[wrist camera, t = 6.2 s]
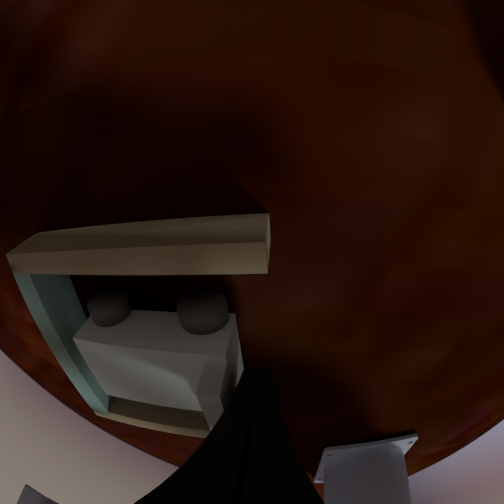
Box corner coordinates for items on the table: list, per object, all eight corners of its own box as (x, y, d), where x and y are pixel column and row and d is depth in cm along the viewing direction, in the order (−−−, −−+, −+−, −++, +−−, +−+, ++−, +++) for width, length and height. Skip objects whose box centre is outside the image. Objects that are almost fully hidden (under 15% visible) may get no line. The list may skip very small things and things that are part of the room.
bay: (278, 407, 15) (276, 442, 13) (110, 389, 17) (96, 415, 15) (268, 213, 10) (265, 241, 8) (37, 232, 12) (5, 254, 9)
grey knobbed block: (247, 375, 14) (236, 449, 10) (131, 365, 15) (102, 423, 11) (235, 289, 12) (212, 373, 8) (97, 287, 13) (46, 346, 9)
